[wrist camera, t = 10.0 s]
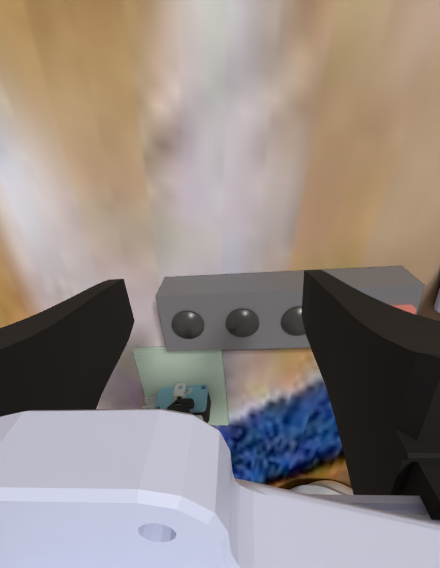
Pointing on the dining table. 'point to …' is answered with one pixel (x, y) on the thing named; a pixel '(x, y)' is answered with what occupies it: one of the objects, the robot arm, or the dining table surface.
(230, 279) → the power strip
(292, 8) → the dining table surface
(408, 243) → the dining table surface
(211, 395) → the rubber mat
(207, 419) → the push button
